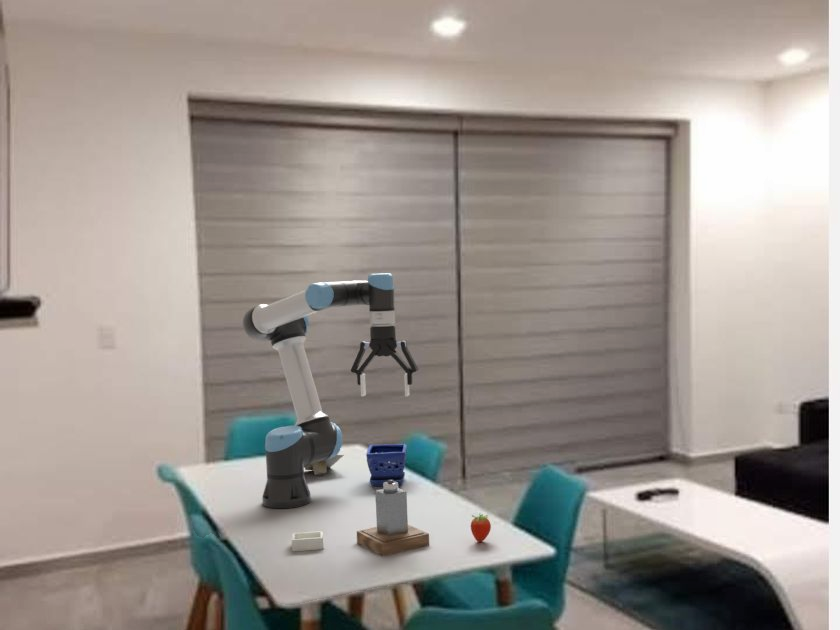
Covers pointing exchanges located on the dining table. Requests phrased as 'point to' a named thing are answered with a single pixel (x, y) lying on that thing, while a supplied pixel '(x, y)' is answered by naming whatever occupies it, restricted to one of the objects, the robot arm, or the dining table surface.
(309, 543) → the box
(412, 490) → the dining table surface
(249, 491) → the dining table surface
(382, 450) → the flower pot
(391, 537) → the stand
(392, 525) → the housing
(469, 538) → the dining table surface
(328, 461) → the wall
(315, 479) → the dining table surface
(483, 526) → the fruit
